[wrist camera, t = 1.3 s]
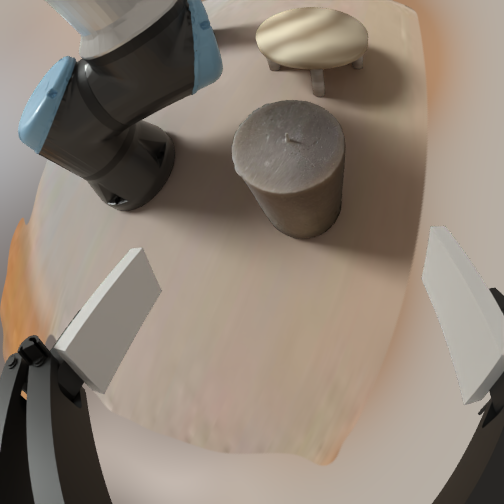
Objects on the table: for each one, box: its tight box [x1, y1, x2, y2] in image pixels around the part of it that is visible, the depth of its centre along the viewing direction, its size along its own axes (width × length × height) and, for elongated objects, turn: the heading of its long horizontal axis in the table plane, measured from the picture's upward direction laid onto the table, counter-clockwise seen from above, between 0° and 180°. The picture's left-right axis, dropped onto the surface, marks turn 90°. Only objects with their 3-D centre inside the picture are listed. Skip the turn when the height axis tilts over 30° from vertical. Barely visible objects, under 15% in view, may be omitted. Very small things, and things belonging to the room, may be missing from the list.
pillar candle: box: [232, 100, 345, 238], centre depth 27 cm, size 10×10×15 cm
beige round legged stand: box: [256, 7, 368, 97], centre depth 34 cm, size 17×17×8 cm
